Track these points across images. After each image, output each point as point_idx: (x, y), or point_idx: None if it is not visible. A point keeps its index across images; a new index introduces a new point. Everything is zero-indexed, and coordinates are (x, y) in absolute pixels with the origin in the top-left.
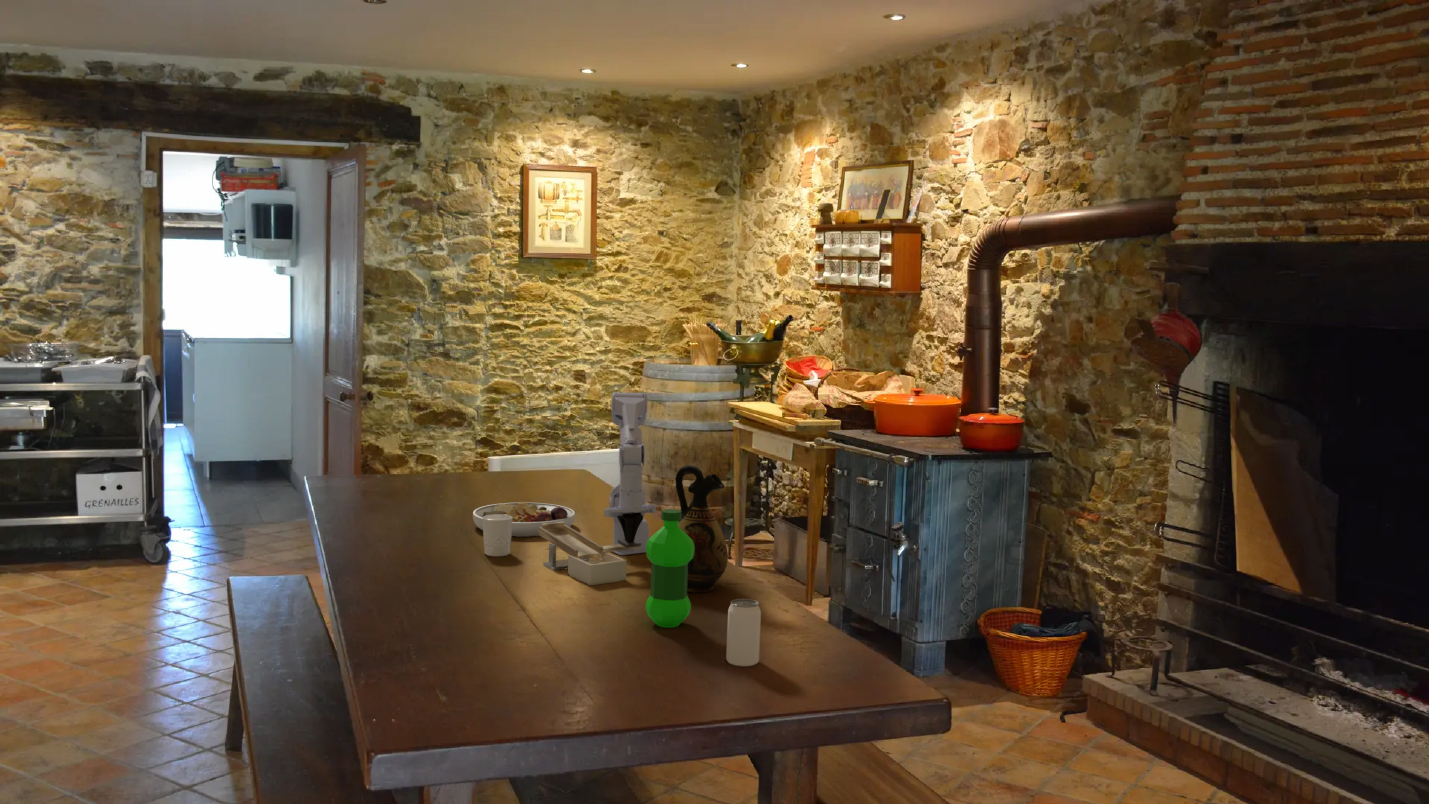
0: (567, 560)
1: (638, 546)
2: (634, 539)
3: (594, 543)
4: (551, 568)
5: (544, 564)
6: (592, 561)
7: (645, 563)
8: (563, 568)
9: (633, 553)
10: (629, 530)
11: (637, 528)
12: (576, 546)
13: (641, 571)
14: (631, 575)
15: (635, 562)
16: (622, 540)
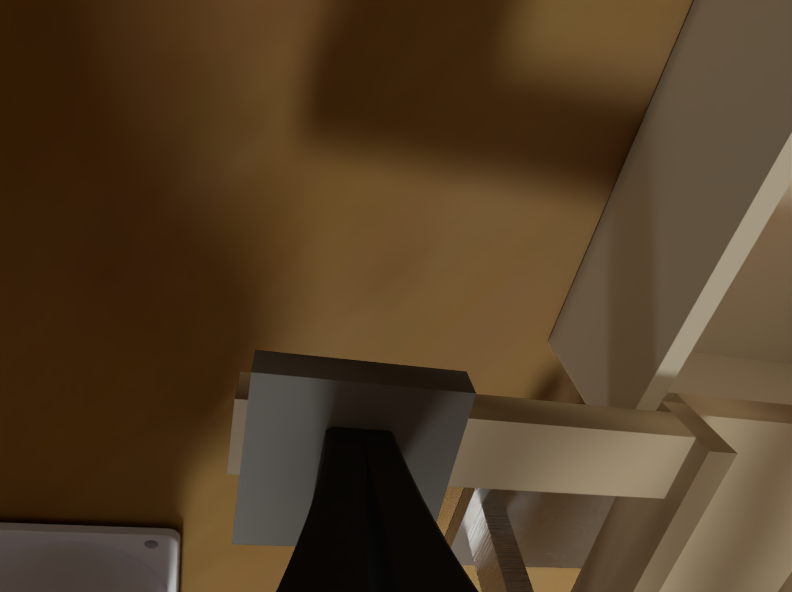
0: (570, 550)
1: (248, 385)
2: (242, 499)
3: (678, 550)
4: None
5: None
6: (688, 391)
7: (132, 316)
8: None
9: (70, 526)
10: (458, 575)
11: (293, 590)
12: (695, 588)
13: (343, 137)
14: (520, 86)
15: (191, 376)
16: None
